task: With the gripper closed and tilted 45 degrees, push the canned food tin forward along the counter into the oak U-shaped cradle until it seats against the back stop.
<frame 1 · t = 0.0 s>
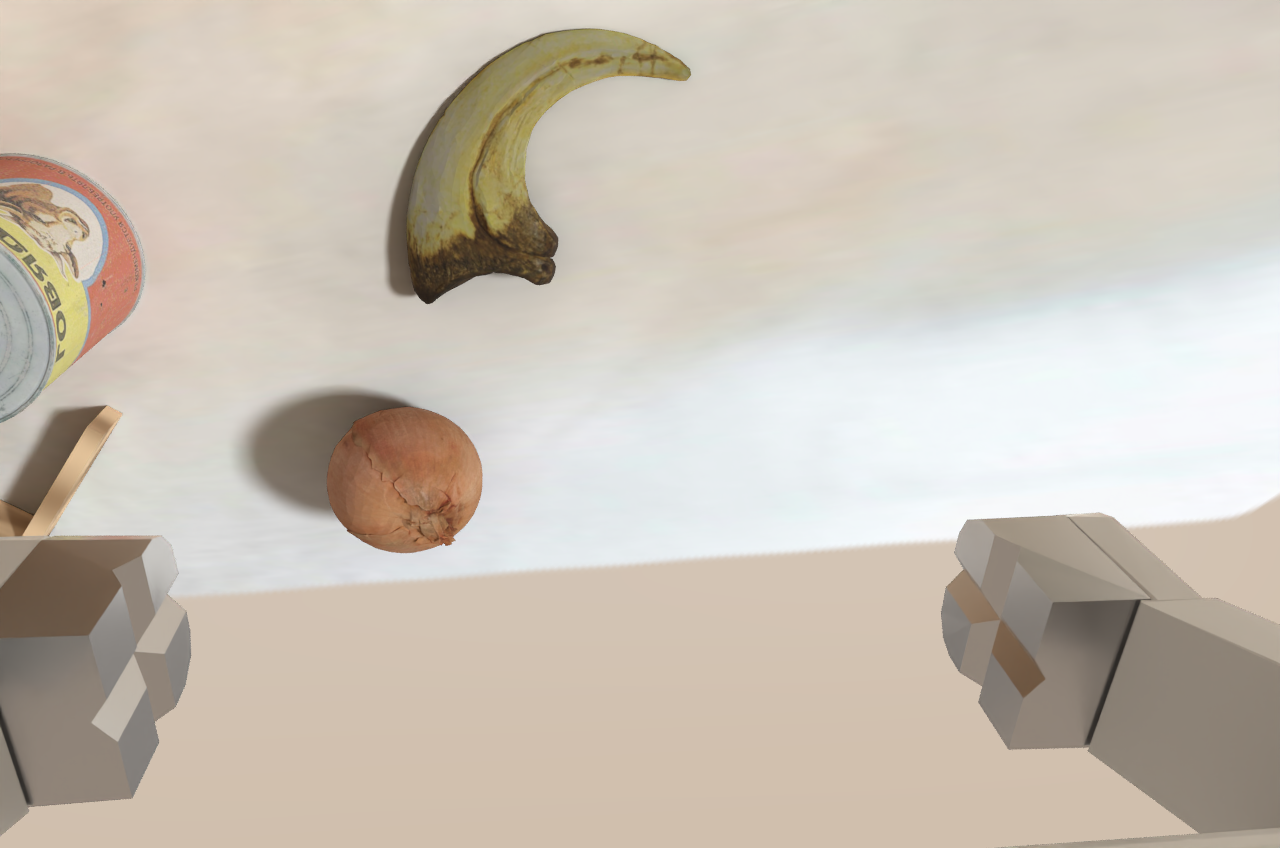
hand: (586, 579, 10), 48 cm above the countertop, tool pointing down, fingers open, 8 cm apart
claw: (532, 161, 55), on the countertop
onion: (413, 446, 62), on the countertop
canned food: (42, 252, 53), on the countertop
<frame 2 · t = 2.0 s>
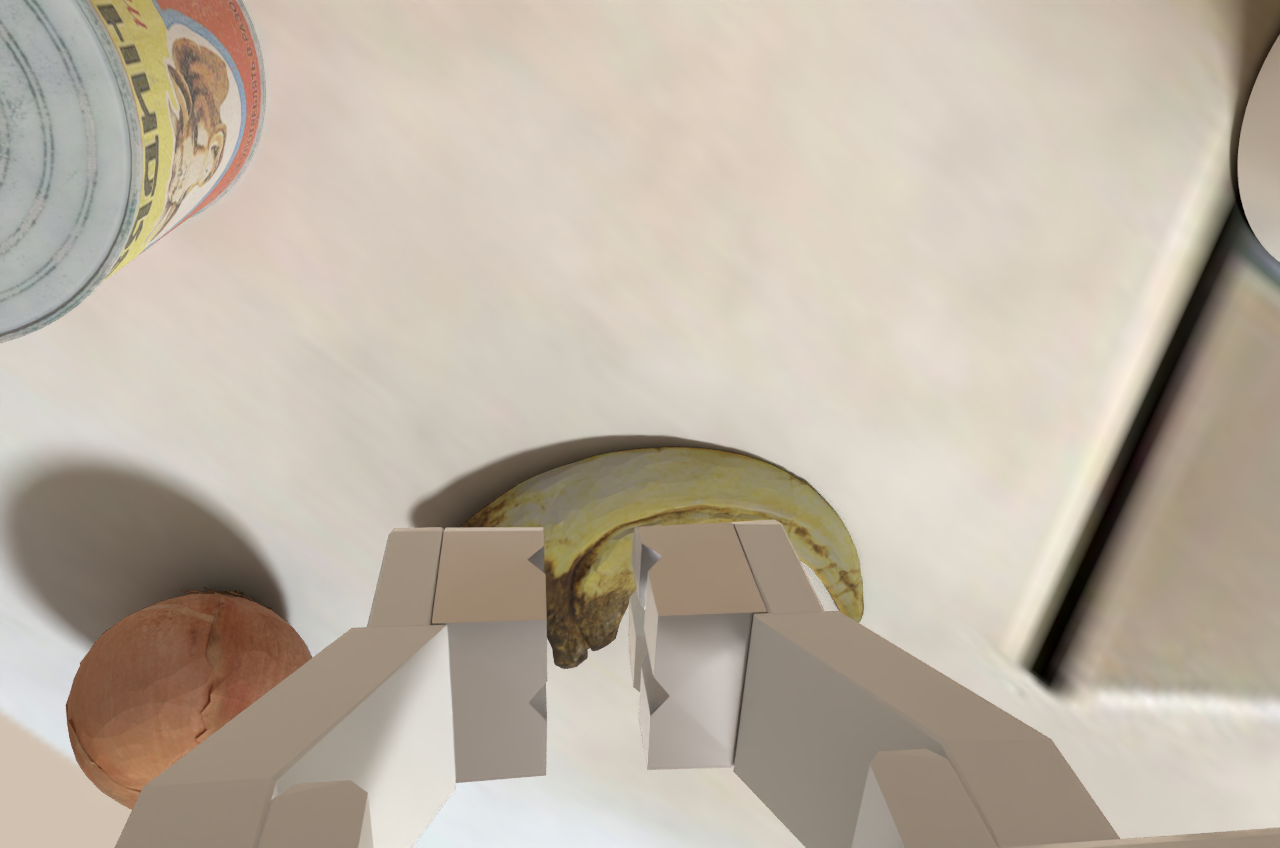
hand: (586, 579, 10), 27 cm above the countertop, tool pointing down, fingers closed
claw: (665, 543, 43), on the countertop
onion: (230, 632, 42), on the countertop
canned food: (92, 64, 31), on the countertop
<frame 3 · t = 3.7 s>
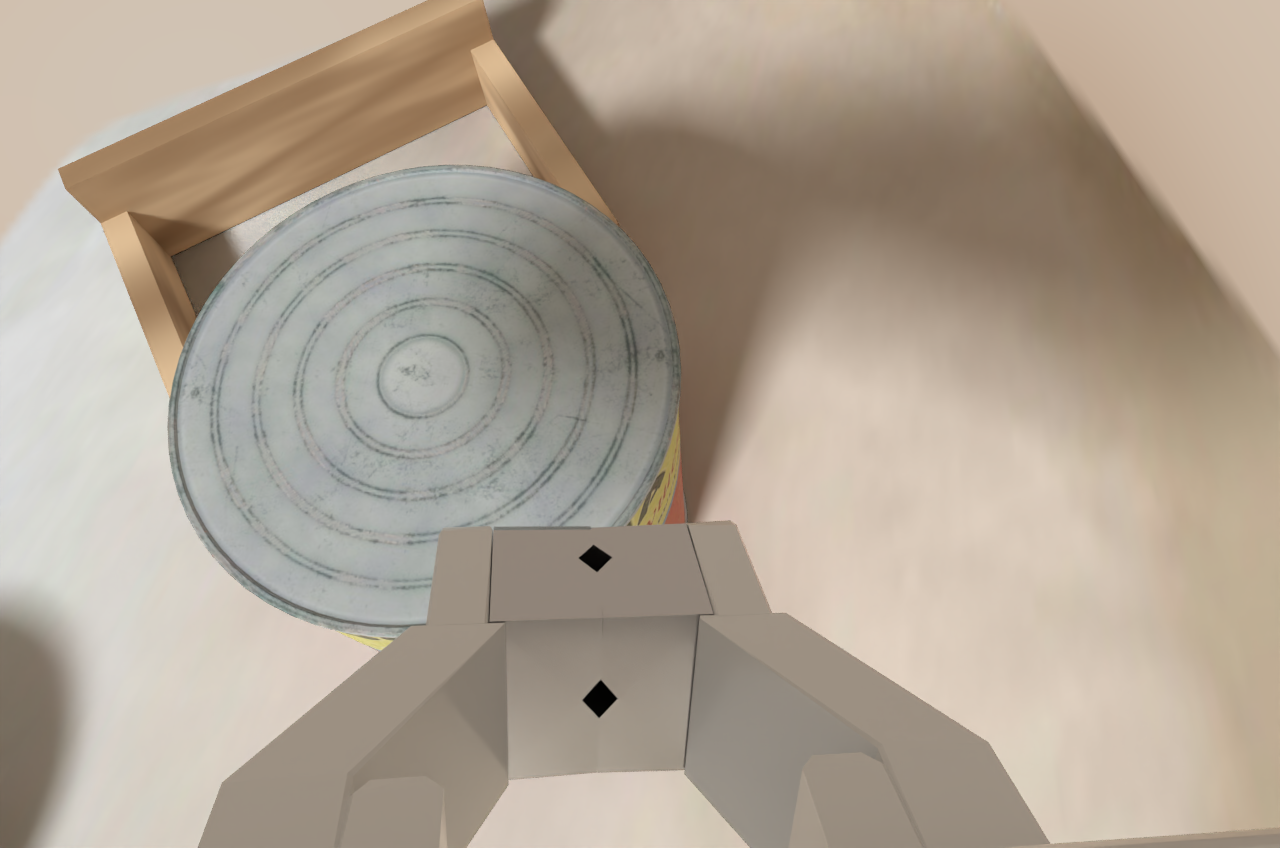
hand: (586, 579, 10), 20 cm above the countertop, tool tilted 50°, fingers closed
cradle: (402, 307, 35), on the countertop
canned food: (522, 529, 31), on the countertop
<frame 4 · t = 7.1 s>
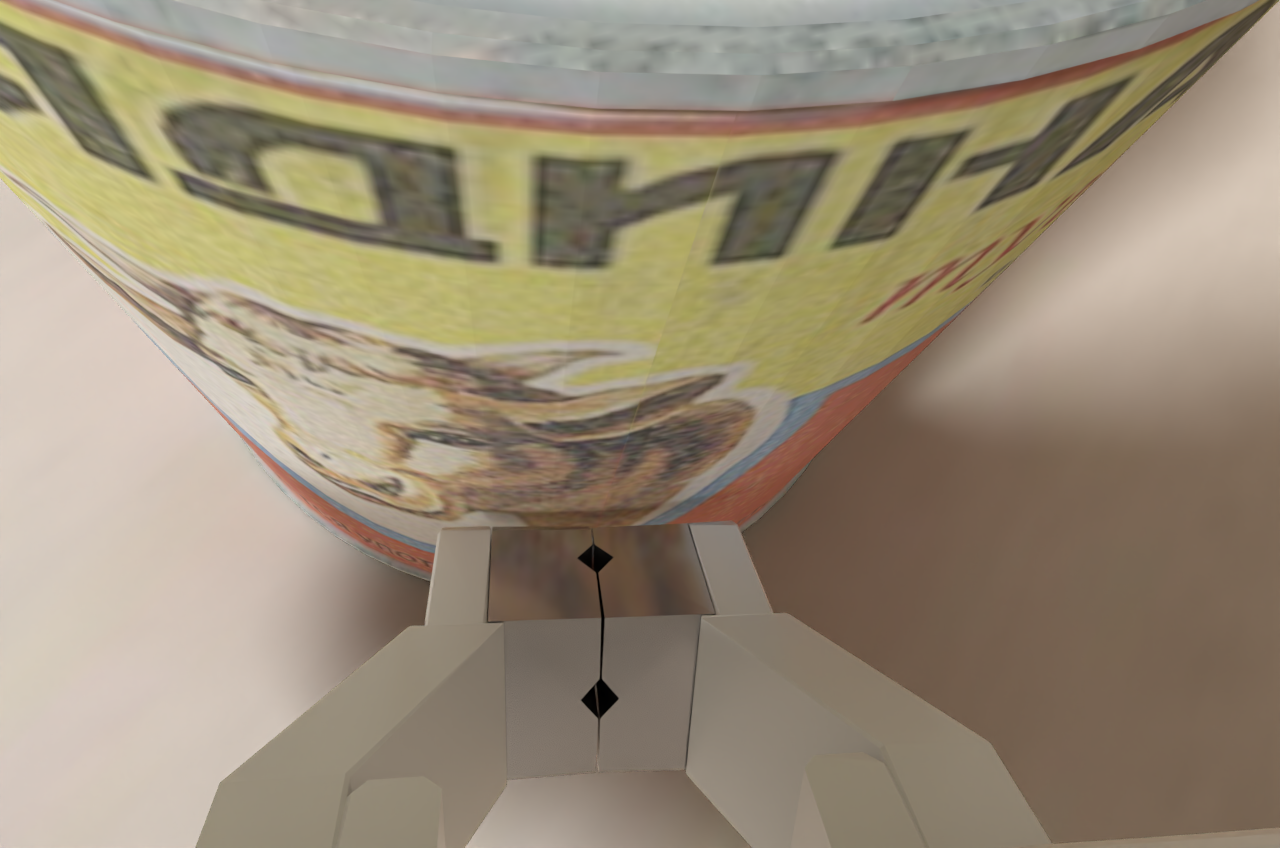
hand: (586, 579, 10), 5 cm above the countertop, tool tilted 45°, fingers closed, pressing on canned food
canned food: (543, 280, 16), on the countertop, touching gripper
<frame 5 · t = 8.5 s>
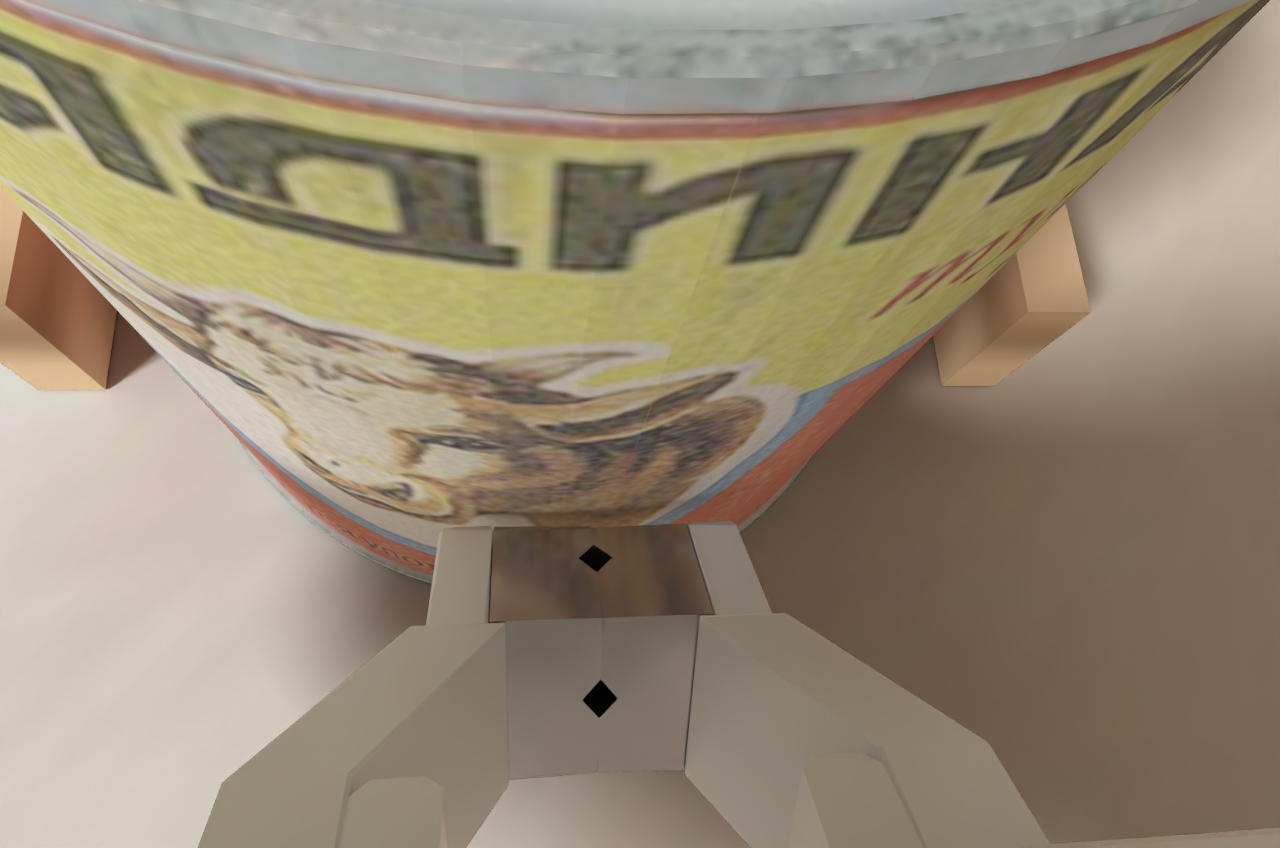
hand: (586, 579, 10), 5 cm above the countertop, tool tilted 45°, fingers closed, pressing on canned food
cradle: (544, 231, 16), on the countertop
canned food: (540, 281, 16), on the countertop, touching gripper
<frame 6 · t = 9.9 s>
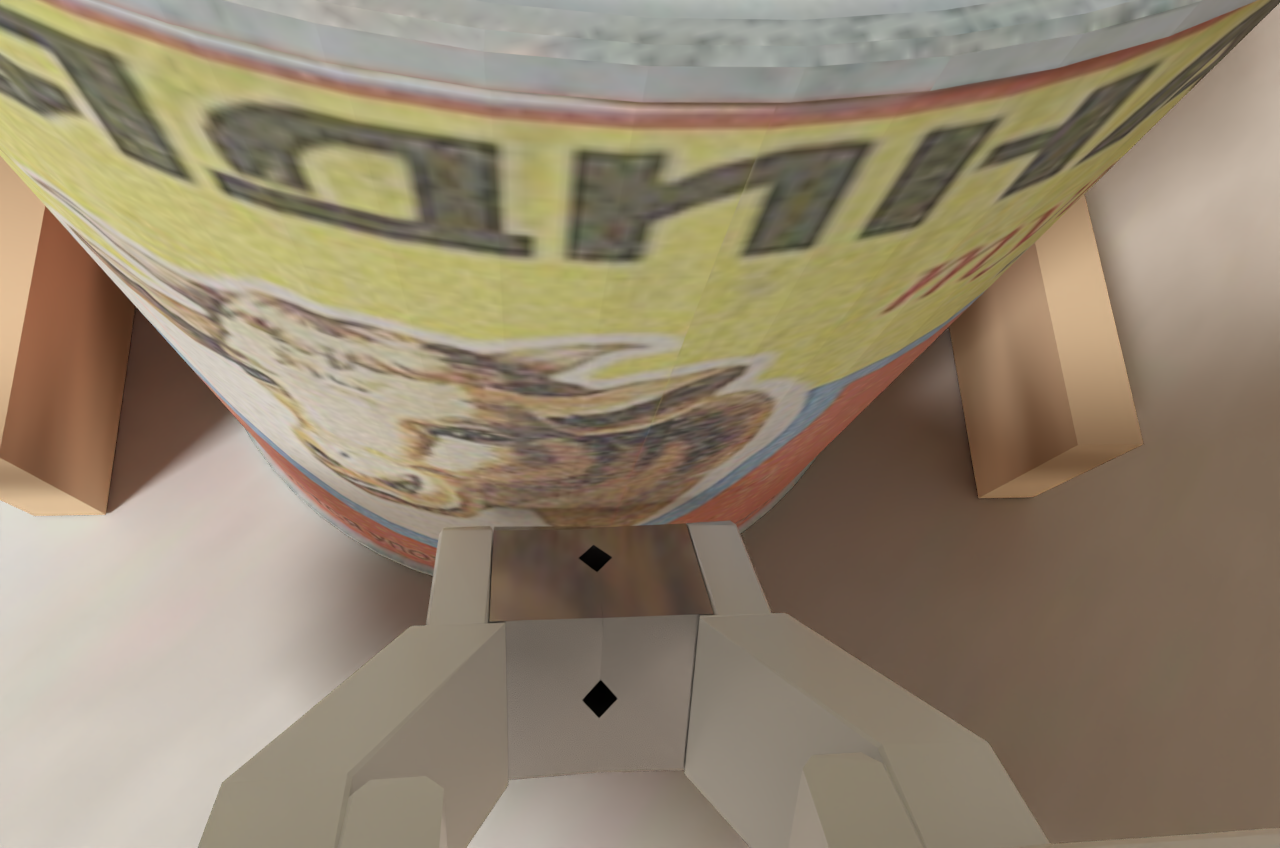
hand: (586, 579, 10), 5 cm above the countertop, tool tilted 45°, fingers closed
cradle: (564, 335, 16), on the countertop
canned food: (548, 278, 16), on the countertop
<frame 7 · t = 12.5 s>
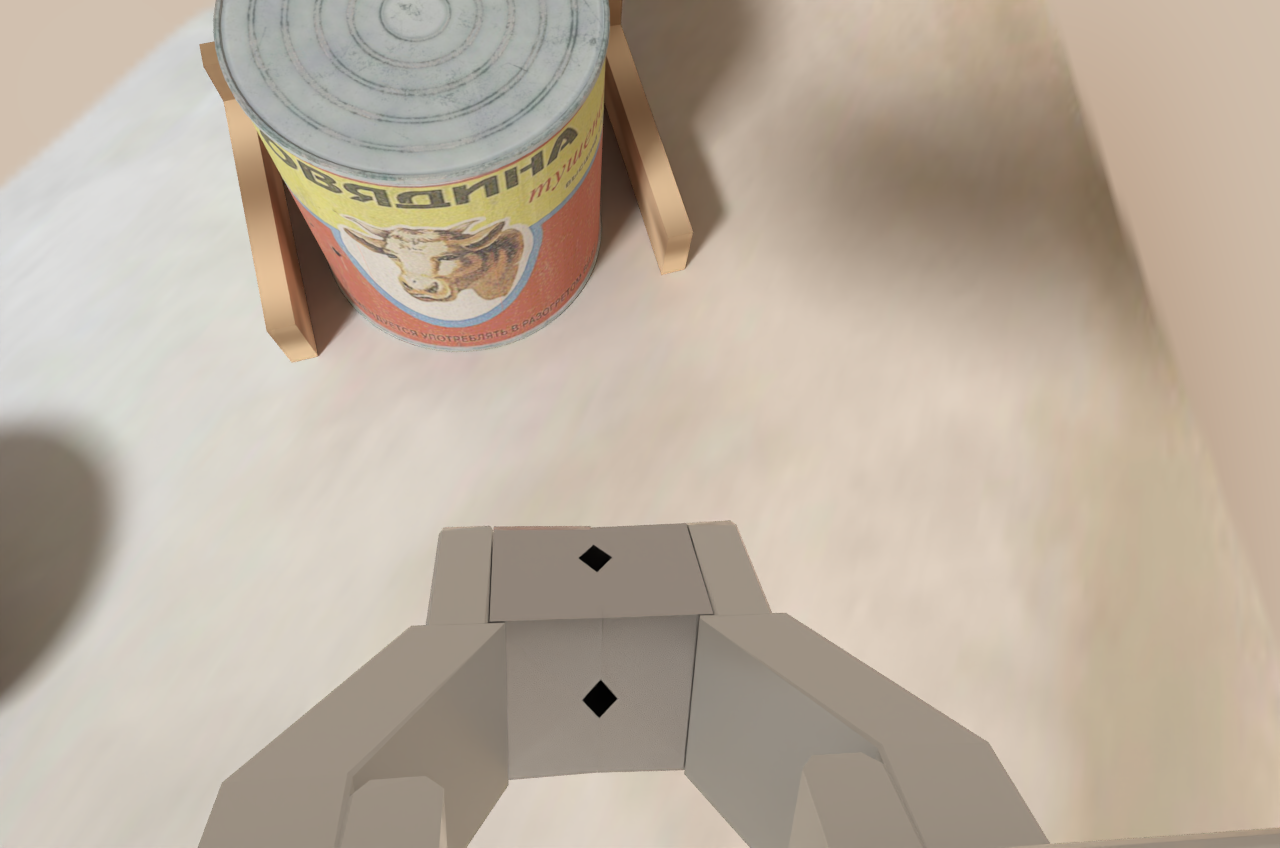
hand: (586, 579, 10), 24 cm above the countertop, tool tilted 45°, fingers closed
cradle: (477, 249, 37), on the countertop
canned food: (465, 228, 38), on the countertop
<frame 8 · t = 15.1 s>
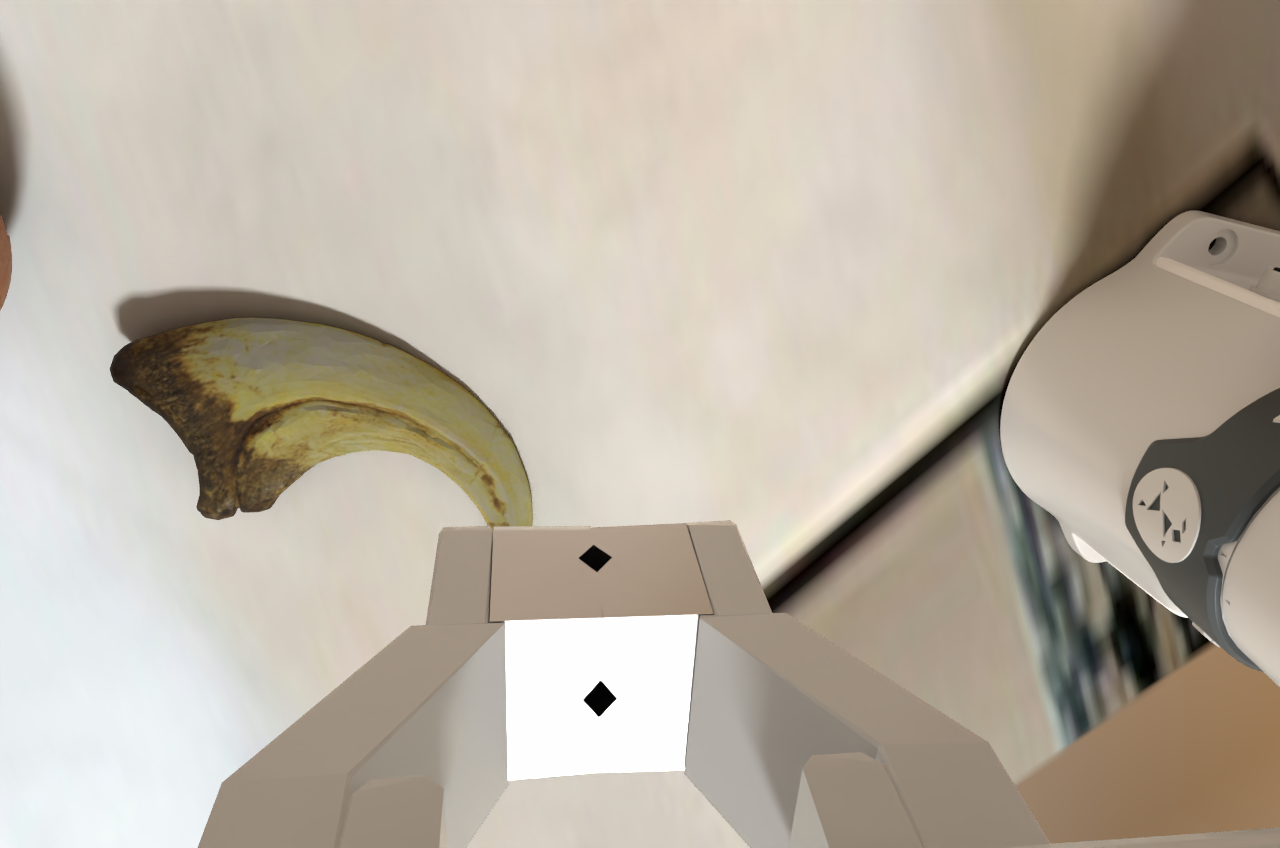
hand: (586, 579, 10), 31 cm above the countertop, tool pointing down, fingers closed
claw: (358, 443, 43), on the countertop
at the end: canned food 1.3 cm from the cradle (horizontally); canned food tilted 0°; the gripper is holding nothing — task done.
